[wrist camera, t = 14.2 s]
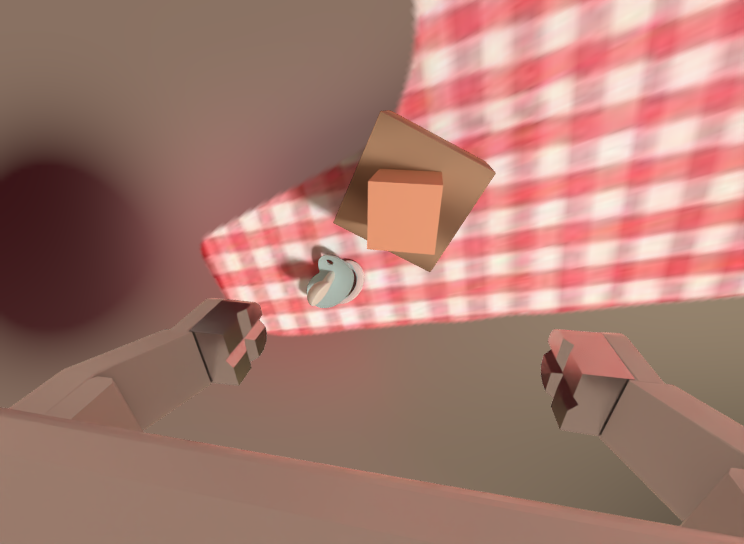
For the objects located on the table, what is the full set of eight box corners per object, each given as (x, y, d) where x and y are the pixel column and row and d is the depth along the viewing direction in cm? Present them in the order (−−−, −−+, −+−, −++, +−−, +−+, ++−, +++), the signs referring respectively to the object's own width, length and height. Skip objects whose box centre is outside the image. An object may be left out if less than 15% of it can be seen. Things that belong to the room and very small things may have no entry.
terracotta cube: (379, 168, 26) (368, 181, 21) (441, 171, 25) (443, 185, 21) (377, 226, 28) (367, 249, 24) (434, 231, 27) (434, 254, 23)
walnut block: (390, 110, 29) (380, 110, 24) (485, 161, 29) (495, 173, 24) (349, 204, 34) (333, 222, 29) (430, 247, 34) (430, 272, 29)
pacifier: (374, 265, 37) (327, 242, 36) (365, 293, 31) (310, 267, 31) (349, 309, 40) (307, 288, 40) (338, 341, 35) (288, 318, 34)
